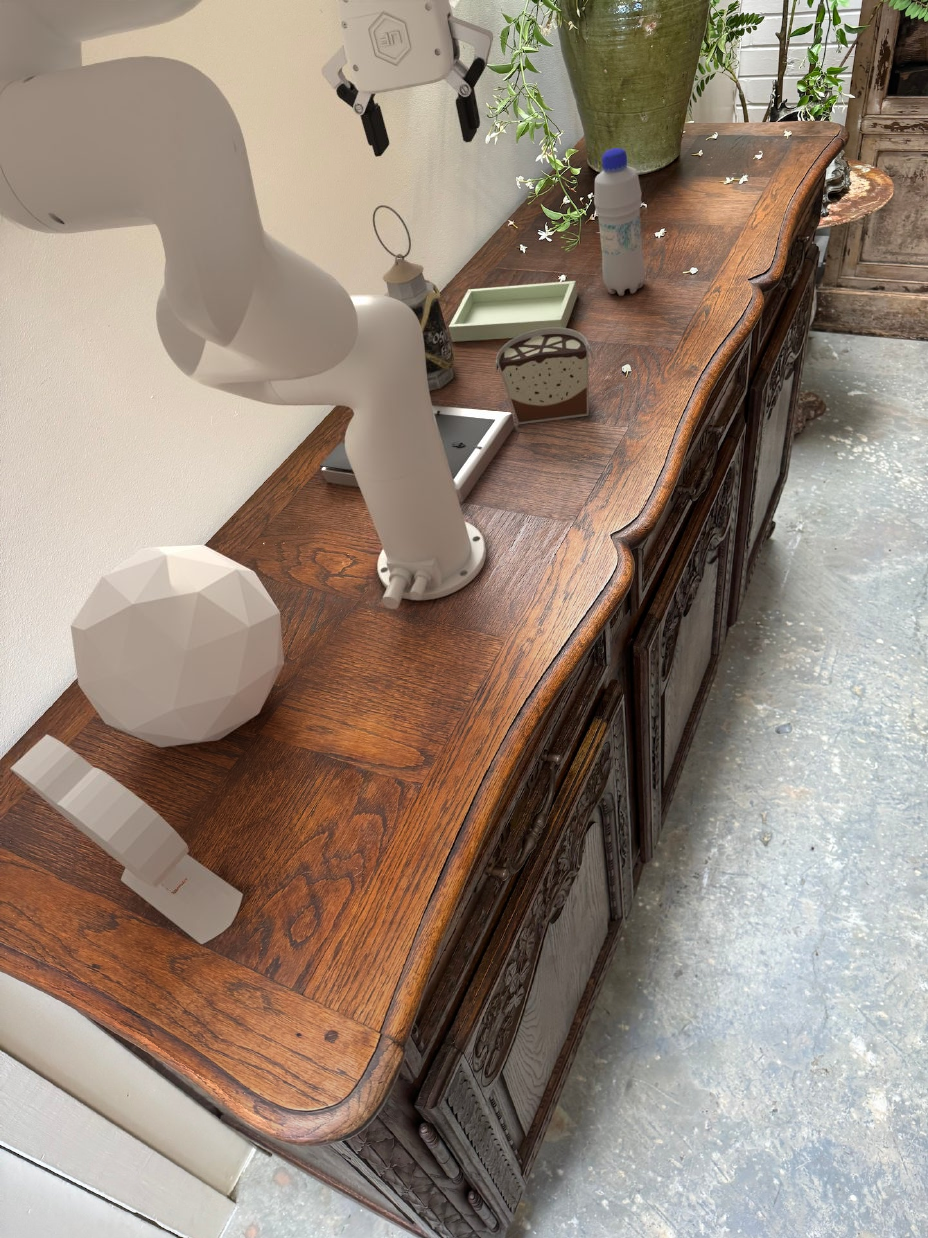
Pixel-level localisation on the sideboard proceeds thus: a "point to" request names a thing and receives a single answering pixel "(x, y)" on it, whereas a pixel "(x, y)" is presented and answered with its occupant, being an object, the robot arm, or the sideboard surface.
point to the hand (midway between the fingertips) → (426, 144)
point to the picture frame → (446, 447)
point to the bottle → (619, 223)
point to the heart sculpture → (131, 839)
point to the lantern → (422, 312)
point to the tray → (512, 310)
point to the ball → (178, 645)
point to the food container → (546, 374)
